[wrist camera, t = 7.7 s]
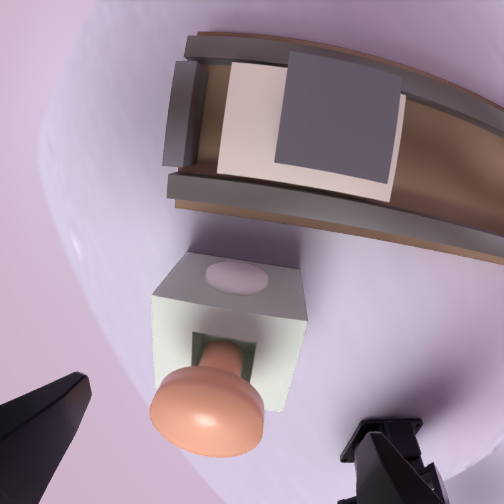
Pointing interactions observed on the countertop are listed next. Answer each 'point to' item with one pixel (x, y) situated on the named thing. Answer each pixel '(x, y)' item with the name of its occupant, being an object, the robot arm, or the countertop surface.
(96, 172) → the countertop surface
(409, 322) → the countertop surface
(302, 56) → the carriage
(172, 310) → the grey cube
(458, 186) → the rail
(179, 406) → the button
